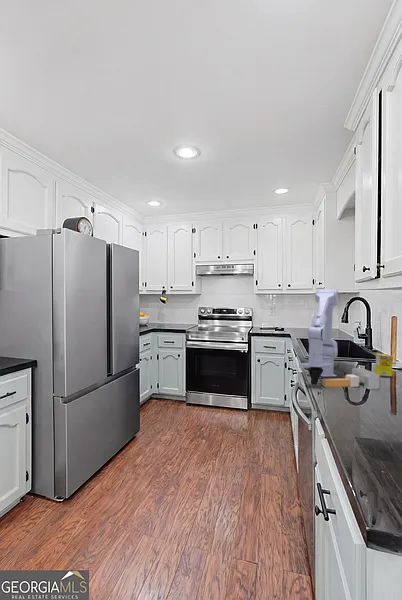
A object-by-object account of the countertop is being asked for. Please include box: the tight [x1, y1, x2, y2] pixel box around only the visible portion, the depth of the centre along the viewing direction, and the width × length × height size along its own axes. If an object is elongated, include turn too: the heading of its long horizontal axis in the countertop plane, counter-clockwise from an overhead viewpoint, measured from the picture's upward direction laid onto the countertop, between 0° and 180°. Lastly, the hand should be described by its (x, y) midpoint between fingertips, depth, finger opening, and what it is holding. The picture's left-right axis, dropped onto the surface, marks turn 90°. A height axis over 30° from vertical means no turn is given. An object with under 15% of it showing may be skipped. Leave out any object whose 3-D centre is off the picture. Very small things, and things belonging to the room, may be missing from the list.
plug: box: [321, 374, 360, 388], centre depth 139 cm, size 4×17×4 cm, turn 100°
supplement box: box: [374, 353, 394, 379], centre depth 158 cm, size 6×6×11 cm
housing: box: [351, 367, 381, 390], centre depth 141 cm, size 12×5×6 cm, turn 10°
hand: (314, 384), depth 137 cm, fingers closed
